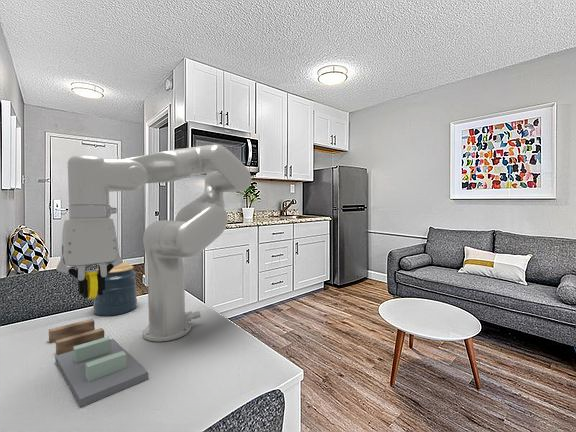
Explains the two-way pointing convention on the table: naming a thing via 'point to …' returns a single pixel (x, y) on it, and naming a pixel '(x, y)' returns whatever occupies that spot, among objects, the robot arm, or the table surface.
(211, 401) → the table surface
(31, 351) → the table surface
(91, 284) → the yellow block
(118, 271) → the canister
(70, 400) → the table surface
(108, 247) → the robot arm
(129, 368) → the dock
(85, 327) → the holder
